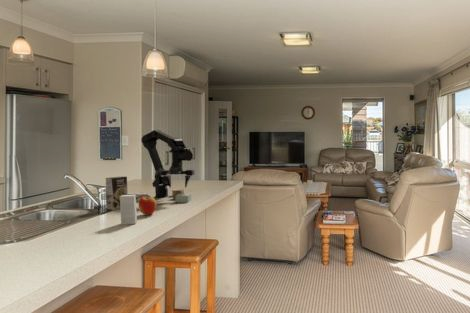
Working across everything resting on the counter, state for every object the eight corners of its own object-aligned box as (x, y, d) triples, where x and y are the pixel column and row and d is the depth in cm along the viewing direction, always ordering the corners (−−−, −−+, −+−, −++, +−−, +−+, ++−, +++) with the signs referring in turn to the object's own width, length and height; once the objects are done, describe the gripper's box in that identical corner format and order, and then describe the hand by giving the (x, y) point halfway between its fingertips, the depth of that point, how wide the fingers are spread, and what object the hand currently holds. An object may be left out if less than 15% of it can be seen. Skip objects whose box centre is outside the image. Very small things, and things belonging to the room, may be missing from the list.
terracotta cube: (172, 196, 270) (172, 189, 270) (172, 195, 274) (172, 189, 274) (179, 196, 270) (178, 189, 270) (179, 195, 274) (179, 188, 274)
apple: (157, 212, 215) (156, 192, 215) (155, 216, 207) (154, 194, 207) (140, 213, 215) (139, 192, 215) (137, 216, 207) (136, 194, 207)
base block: (175, 203, 246) (175, 195, 245) (178, 201, 253) (178, 193, 252) (188, 202, 245) (188, 195, 245) (191, 200, 252) (190, 193, 252)
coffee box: (114, 210, 227) (112, 178, 226) (106, 209, 231) (104, 177, 230) (128, 207, 234) (127, 176, 234) (120, 206, 238) (119, 175, 237)
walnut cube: (173, 199, 258) (172, 190, 258) (175, 198, 263) (175, 189, 263) (181, 199, 258) (181, 190, 257) (184, 198, 263) (183, 189, 262)
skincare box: (137, 222, 194) (136, 194, 193) (135, 224, 190) (134, 195, 189) (122, 222, 194) (121, 194, 193) (120, 224, 190) (119, 196, 189)
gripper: (156, 161, 253) (157, 189, 254) (189, 161, 250) (190, 189, 251) (163, 160, 264) (164, 187, 265) (194, 159, 261) (195, 186, 262)
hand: (178, 187), depth 260 cm, fingers open, 9 cm apart
